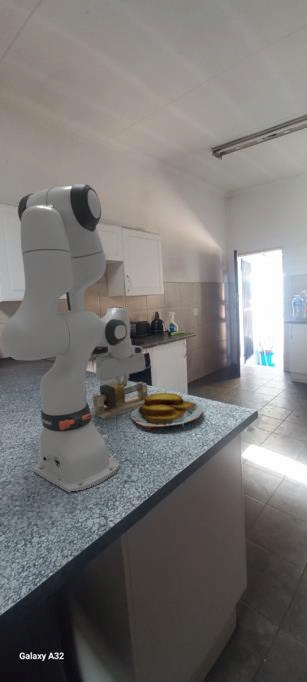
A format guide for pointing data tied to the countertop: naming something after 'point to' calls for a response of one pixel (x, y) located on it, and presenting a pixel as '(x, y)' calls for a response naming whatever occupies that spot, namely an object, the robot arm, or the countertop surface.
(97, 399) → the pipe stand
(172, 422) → the food on plate
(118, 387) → the tan block
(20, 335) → the robot arm
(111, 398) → the dark grey hooked block
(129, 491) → the countertop surface
